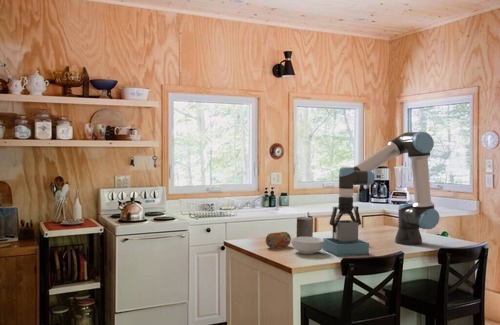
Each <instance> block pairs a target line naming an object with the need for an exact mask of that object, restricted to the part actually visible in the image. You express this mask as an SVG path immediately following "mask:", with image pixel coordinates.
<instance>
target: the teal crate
mask: <svg viewBox="0 0 500 325" xmlns="http://www.w3.org/2000/svg"><path fill="white" fill-rule="evenodd" d="M322 239H323V240H324V246H323V248H322V250H323V251H324V252H327V253H329V254H331V255H333V256H335V257H352V256H354V257H355V256H369V254H370V243H369V242H367V241H364V240H363V239H359V238H358V242H342V243H340V242H338V241H336V240H333V239H332V237H326V238H323V237H322Z"/></svg>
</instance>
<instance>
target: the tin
mask: <svg viewBox="0 0 500 325" xmlns="http://www.w3.org/2000/svg"><path fill="white" fill-rule="evenodd" d="M291 242H292V237H291V234H289V233H288V232H286V231H279V232H270V233H268V234H267V235H266V237H265V244H266V246H267V247H269V248H270V249H279V248H281V249H282V248H285V247H288V246H289V245H290V244H291Z"/></svg>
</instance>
